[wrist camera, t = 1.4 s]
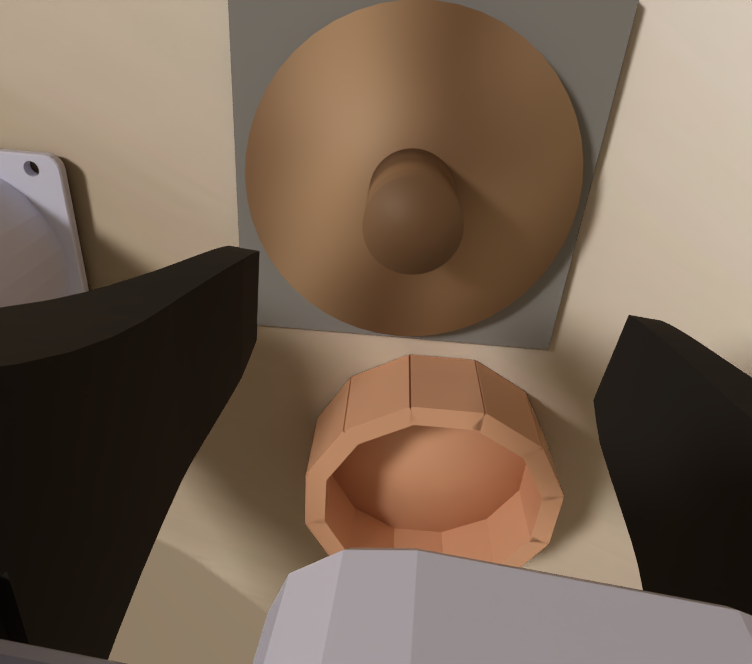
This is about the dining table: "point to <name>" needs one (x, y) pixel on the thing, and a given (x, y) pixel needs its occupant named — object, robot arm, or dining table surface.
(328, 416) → the bowl
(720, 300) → the dining table surface
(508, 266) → the lid
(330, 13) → the mat
